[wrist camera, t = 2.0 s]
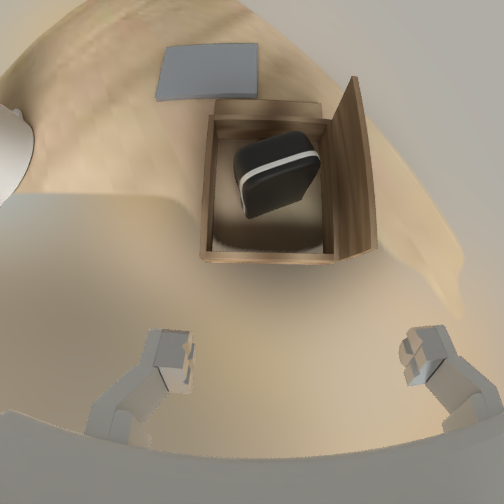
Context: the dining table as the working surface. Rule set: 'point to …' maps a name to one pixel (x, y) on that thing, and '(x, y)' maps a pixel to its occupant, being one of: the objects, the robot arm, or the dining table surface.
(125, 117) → the dining table surface
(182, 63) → the mat
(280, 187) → the battery charger
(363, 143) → the wooden box
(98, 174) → the dining table surface
